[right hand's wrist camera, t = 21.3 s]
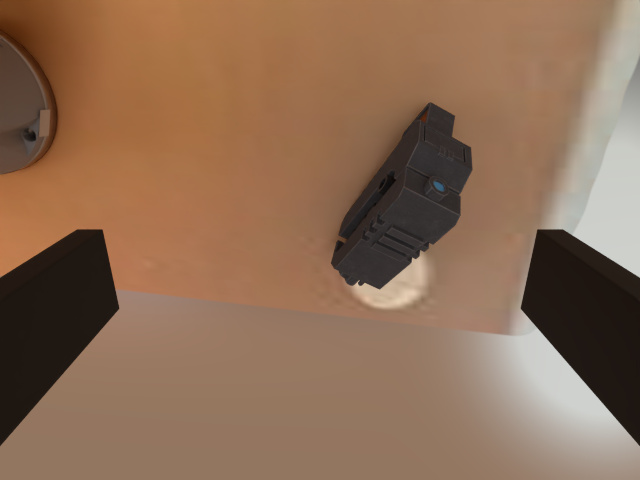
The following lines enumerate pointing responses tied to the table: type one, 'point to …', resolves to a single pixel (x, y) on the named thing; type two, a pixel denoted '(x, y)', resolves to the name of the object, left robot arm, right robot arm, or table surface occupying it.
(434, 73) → the table surface
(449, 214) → the tool
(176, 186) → the table surface
